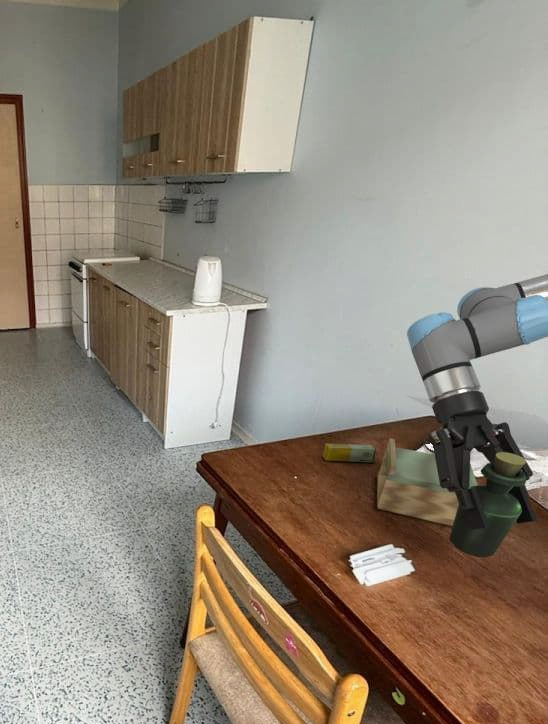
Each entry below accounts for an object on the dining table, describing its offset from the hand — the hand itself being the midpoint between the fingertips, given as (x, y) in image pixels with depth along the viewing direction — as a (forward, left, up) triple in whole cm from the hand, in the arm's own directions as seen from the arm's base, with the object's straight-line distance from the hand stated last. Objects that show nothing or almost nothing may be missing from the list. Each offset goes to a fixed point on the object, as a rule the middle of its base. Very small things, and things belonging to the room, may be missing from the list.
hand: (503, 525), depth 77 cm
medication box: (+22, -39, -14) cm, 47 cm away
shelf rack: (+7, -26, -14) cm, 30 cm away
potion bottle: (+2, -3, -7) cm, 8 cm away
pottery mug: (-1, -55, -14) cm, 56 cm away
